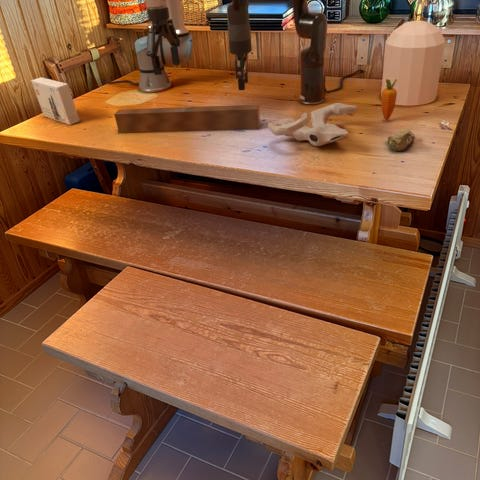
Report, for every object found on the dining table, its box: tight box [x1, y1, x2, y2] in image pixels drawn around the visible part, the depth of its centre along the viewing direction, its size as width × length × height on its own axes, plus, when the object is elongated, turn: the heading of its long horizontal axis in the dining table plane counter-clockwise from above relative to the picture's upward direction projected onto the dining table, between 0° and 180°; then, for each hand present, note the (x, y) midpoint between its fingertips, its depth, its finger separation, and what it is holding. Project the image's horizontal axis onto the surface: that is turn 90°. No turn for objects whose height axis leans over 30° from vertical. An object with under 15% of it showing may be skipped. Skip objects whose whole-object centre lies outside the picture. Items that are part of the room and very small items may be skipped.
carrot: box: [380, 79, 397, 122], centre depth 161 cm, size 5×5×15 cm
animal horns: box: [267, 102, 358, 147], centre depth 155 cm, size 28×26×12 cm
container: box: [380, 20, 446, 107], centre depth 176 cm, size 21×21×28 cm
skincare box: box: [30, 76, 81, 126], centre depth 193 cm, size 21×5×16 cm, turn 49°
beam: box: [114, 104, 261, 134], centre depth 174 cm, size 54×5×8 cm, turn 82°
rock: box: [387, 129, 416, 152], centre depth 146 cm, size 11×6×10 cm
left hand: (167, 69), depth 174 cm, fingers open, 13 cm apart
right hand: (243, 86), depth 164 cm, fingers open, 8 cm apart
